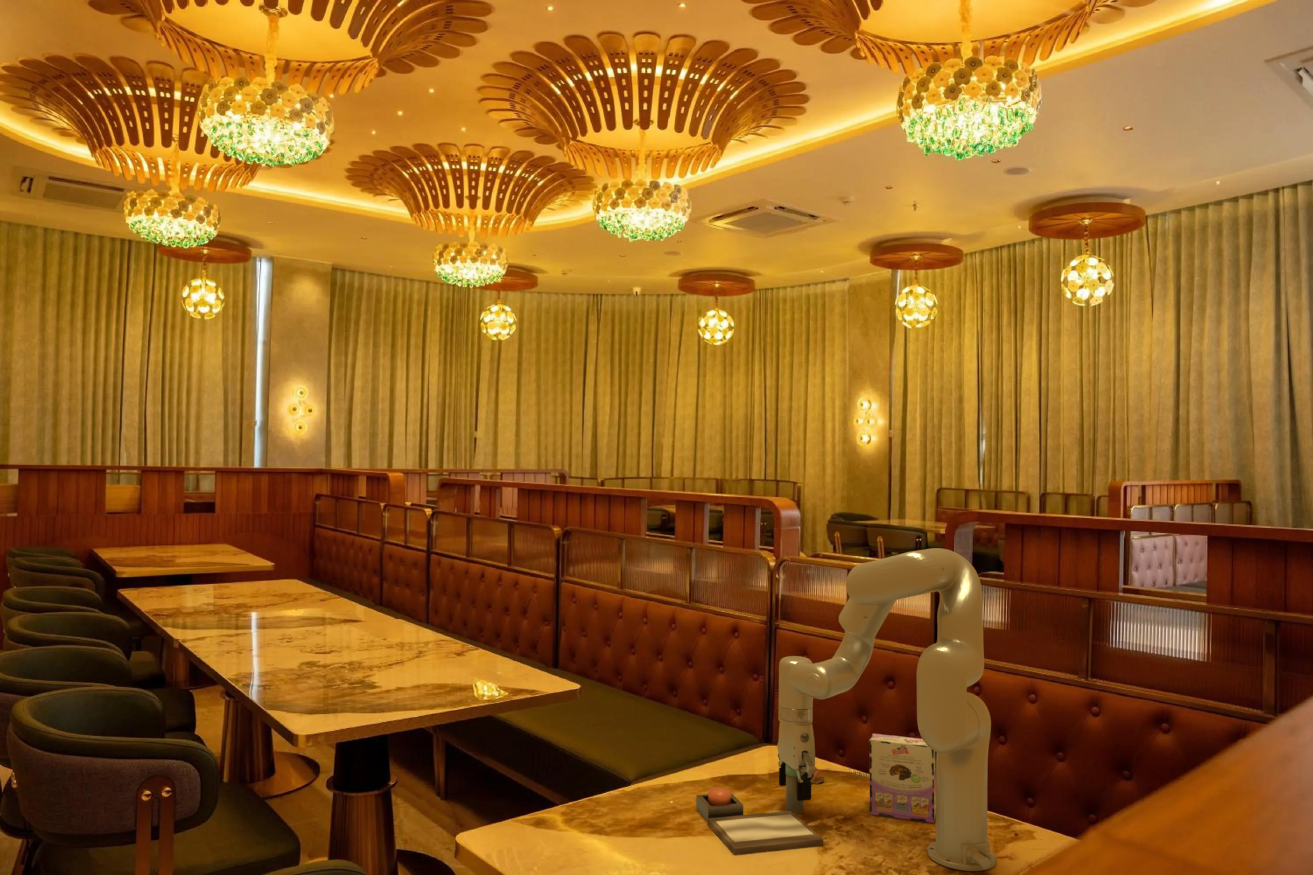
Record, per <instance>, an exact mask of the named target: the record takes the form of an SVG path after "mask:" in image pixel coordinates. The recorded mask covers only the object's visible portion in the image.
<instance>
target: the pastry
mask: <svg viewBox="0 0 1313 875" xmlns="http://www.w3.org/2000/svg"><path fill="white" fill-rule="evenodd" d="M805 772H806V771H805ZM813 774H814V775H813V778H812V782H811V783H812V784H820V783H822V782H824V781H825V775H824V773H823V772H822V771H821V770H820V769H819V768H817V767H816V766H815V769H814V772H813Z"/></svg>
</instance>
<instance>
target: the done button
mask: <svg viewBox="0 0 1313 875" xmlns="http://www.w3.org/2000/svg"><path fill="white" fill-rule="evenodd" d="M731 793H732V790H731V789H729V788H728V787H723V786H713V787H710V788H708V790H707V794H708V803H709V804H711V805H714V806H715V805H726V804H731Z"/></svg>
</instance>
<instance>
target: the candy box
mask: <svg viewBox="0 0 1313 875" xmlns="http://www.w3.org/2000/svg"><path fill="white" fill-rule="evenodd" d="M868 744H869V745H868V746H869V749H868V750H869V765H868V766H869V812H868V814H869V815H871V816H877V817H878V816H879V817H886V818H893V819H894V818H895V819H899V820H900V819H901V820H908V821H909V820H910V821H916V822H922V823H933V824H935V822H936V751H934V750H932V749H931V748H930V747H928V746H927V744H926V743H925V742H924V741H923V739H922V738H919V737H918V738H917V737H910V736H908V737H907V736H900V735H889V734H881V733H872V734H871V737H870V738H869V739H868Z"/></svg>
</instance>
